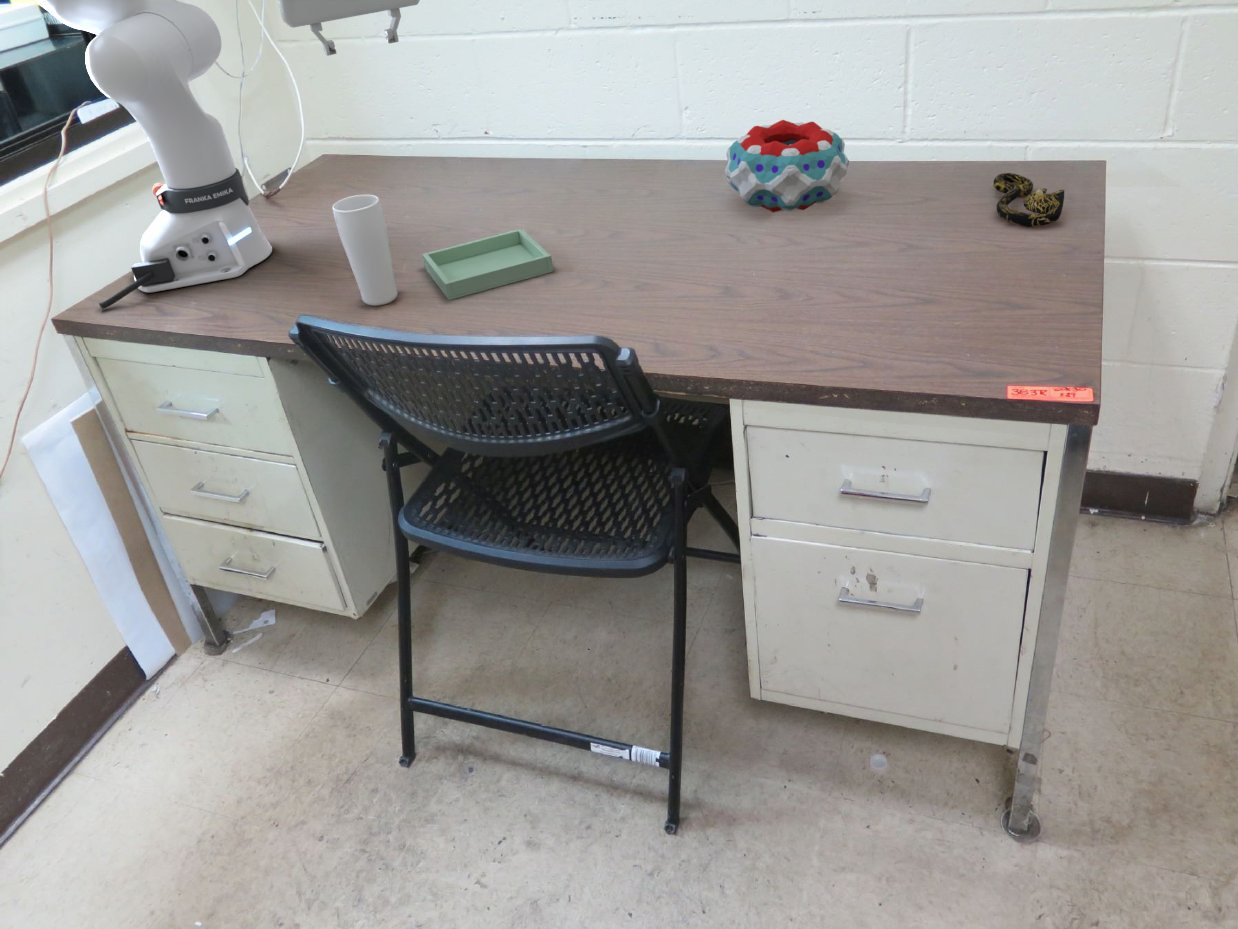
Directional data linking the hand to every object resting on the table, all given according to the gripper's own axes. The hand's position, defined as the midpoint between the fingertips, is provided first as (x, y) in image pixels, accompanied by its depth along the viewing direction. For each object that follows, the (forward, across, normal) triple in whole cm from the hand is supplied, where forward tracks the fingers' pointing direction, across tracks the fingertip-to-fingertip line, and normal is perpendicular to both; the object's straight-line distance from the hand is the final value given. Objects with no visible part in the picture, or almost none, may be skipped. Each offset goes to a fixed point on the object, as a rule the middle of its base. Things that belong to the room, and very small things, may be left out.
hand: (362, 48), depth 147 cm
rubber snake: (+31, -86, +49) cm, 103 cm away
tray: (+31, -8, +19) cm, 37 cm away
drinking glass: (+31, +9, +19) cm, 38 cm away
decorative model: (+31, -59, +23) cm, 71 cm away
